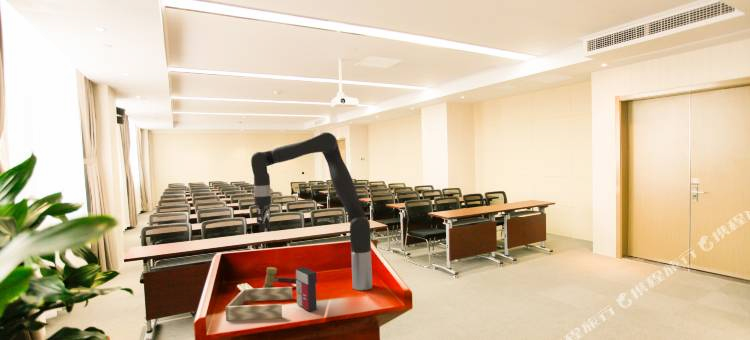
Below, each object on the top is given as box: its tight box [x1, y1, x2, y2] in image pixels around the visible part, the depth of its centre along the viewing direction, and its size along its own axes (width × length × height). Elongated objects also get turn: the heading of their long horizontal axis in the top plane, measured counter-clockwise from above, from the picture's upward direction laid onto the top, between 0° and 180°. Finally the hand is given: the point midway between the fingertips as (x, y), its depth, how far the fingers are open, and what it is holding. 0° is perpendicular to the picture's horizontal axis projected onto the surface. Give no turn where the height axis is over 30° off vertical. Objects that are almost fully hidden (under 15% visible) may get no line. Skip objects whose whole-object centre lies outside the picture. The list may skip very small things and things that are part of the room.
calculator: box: [295, 266, 318, 312], centre depth 152 cm, size 11×4×15 cm, turn 38°
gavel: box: [262, 266, 297, 288], centre depth 176 cm, size 21×5×10 cm, turn 114°
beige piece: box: [224, 286, 293, 321], centre depth 152 cm, size 21×20×5 cm
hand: (264, 229), depth 175 cm, fingers open, 8 cm apart
